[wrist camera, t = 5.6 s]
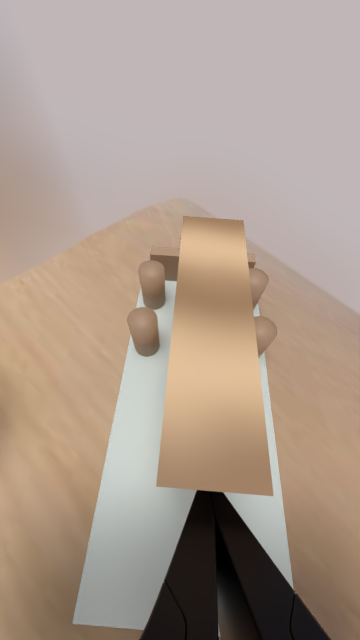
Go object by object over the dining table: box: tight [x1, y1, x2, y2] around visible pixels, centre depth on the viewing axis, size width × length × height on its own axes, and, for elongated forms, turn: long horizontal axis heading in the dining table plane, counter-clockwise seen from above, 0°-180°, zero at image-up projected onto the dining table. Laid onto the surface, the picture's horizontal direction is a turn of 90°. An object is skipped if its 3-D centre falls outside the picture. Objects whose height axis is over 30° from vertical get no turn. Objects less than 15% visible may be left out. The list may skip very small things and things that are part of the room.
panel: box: [72, 246, 294, 637], centre depth 16 cm, size 23×11×5 cm, turn 176°
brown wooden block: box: [156, 216, 274, 496], centre depth 14 cm, size 13×4×9 cm, turn 176°
